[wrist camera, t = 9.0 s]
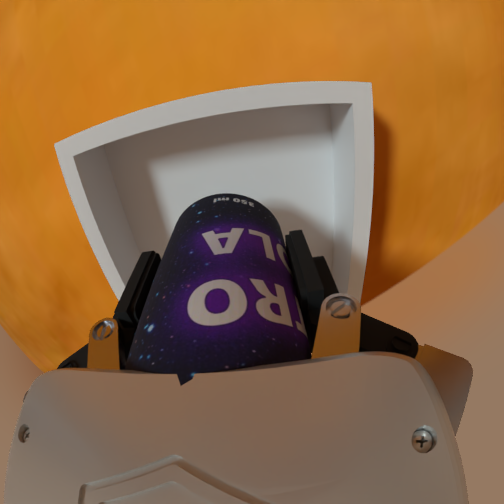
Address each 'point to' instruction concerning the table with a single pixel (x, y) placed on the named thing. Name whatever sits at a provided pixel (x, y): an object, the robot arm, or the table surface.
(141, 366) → the beverage can
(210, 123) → the box
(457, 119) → the table surface
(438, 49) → the table surface
